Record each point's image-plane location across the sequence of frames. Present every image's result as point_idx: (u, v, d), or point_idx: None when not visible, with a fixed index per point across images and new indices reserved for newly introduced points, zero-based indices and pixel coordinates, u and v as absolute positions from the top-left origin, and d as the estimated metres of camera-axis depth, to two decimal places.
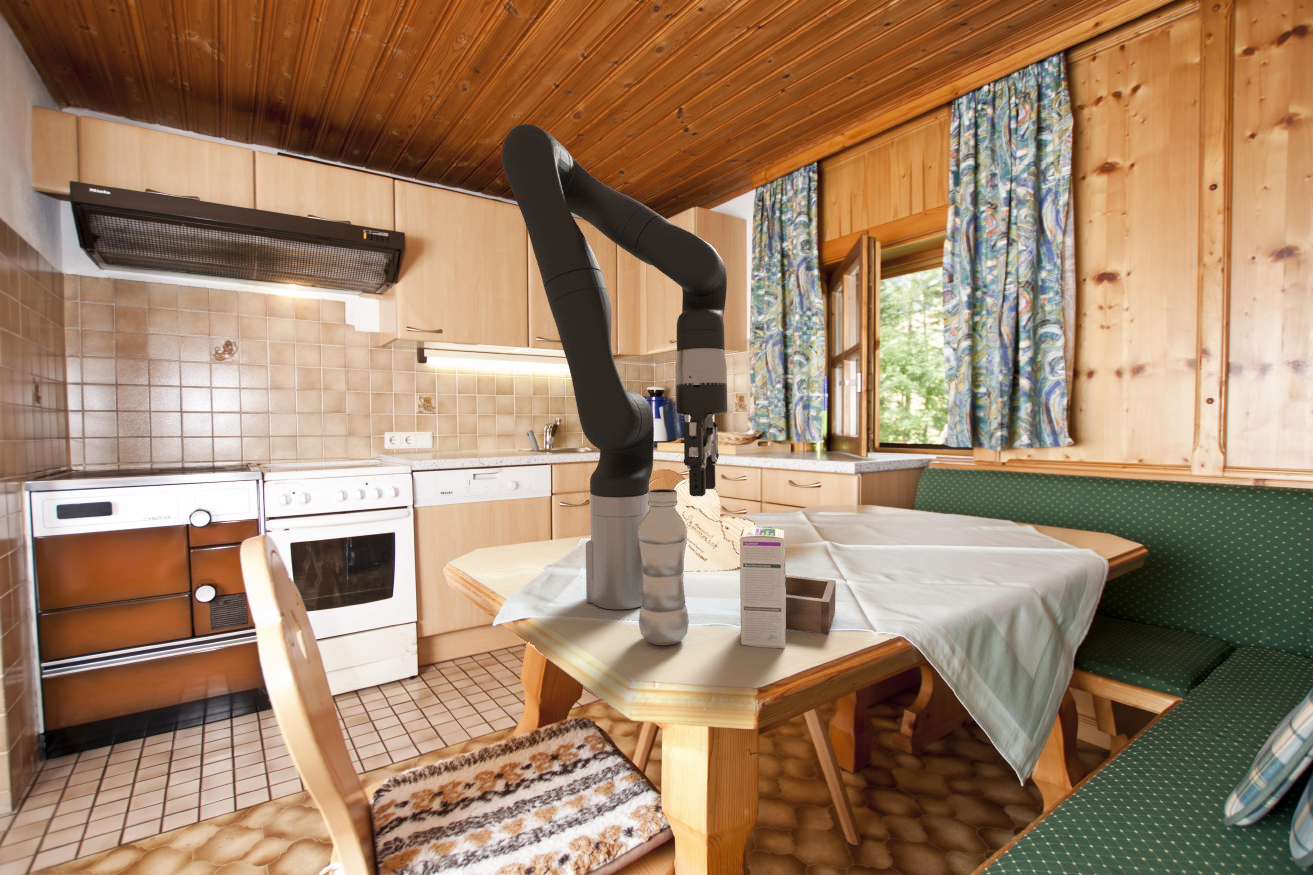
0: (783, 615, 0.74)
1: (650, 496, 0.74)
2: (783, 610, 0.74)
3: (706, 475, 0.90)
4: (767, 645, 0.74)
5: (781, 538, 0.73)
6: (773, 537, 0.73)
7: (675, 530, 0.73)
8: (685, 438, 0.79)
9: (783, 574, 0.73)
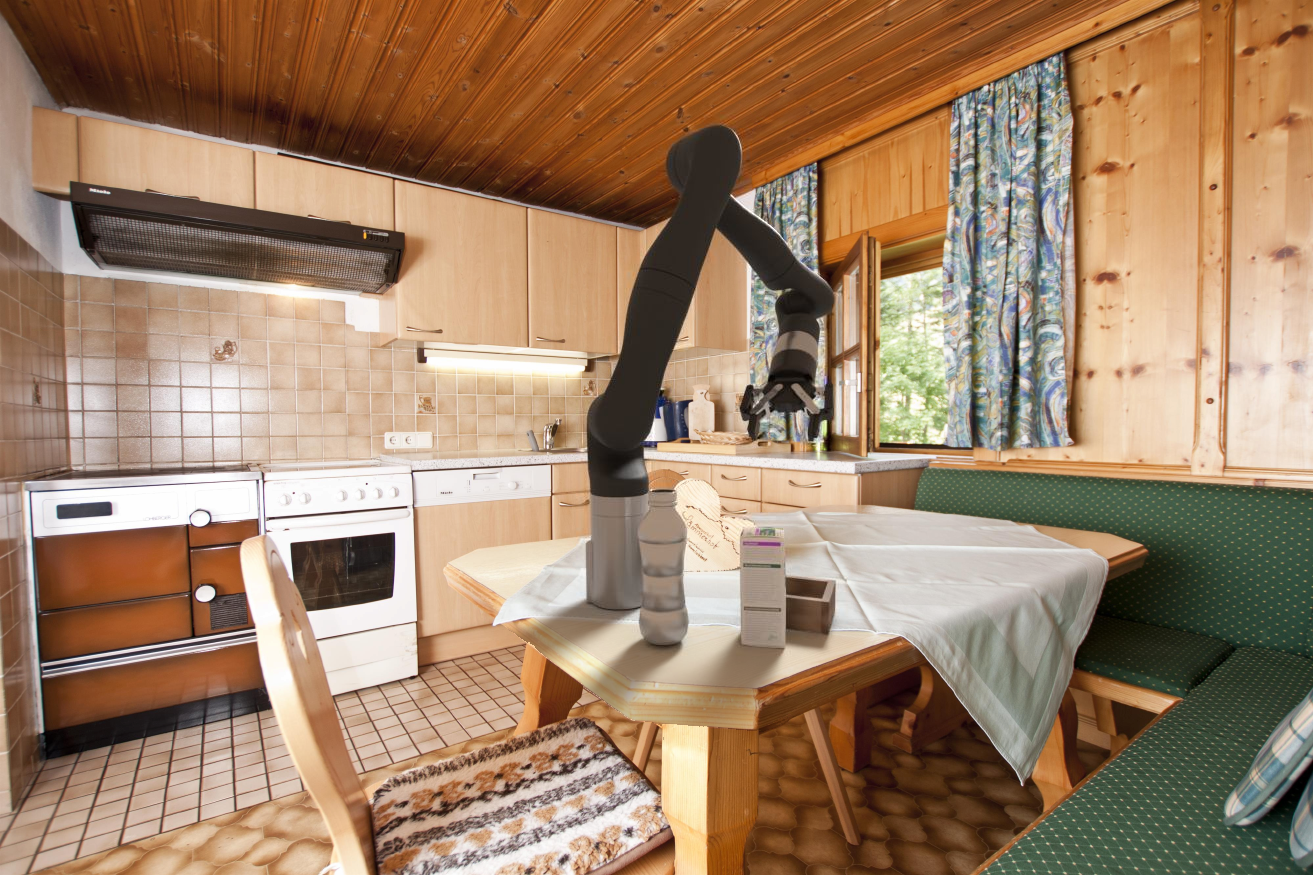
0: (783, 615, 0.74)
1: (650, 496, 0.74)
2: (783, 610, 0.74)
3: (757, 426, 0.90)
4: (767, 645, 0.74)
5: (781, 538, 0.73)
6: (773, 537, 0.73)
7: (675, 530, 0.73)
8: (833, 393, 0.89)
9: (783, 574, 0.73)
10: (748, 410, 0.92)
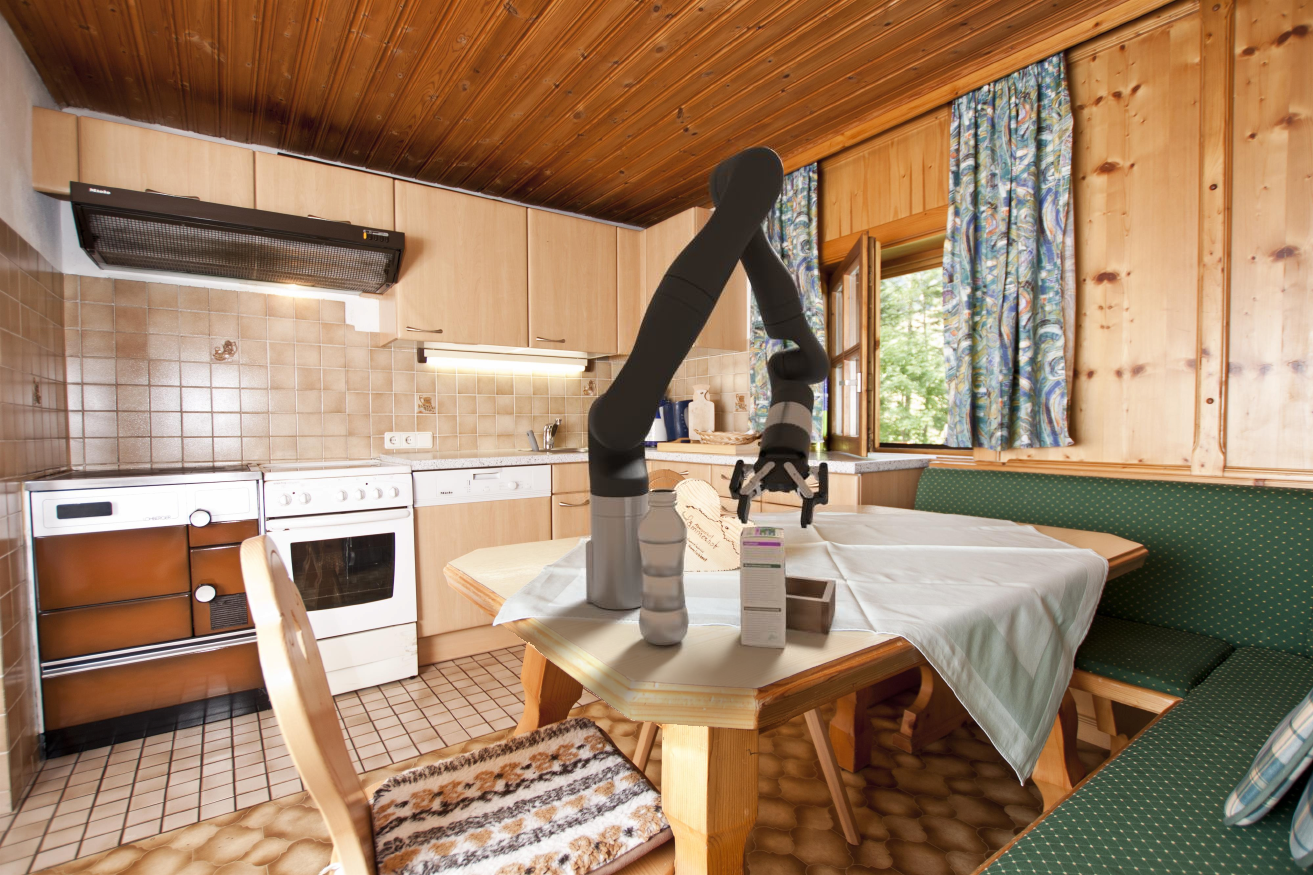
0: (783, 615, 0.74)
1: (650, 496, 0.74)
2: (783, 610, 0.74)
3: (747, 508, 0.85)
4: (767, 645, 0.74)
5: (781, 538, 0.73)
6: (773, 537, 0.73)
7: (675, 530, 0.73)
8: (827, 475, 0.84)
9: (783, 574, 0.73)
10: (738, 489, 0.87)
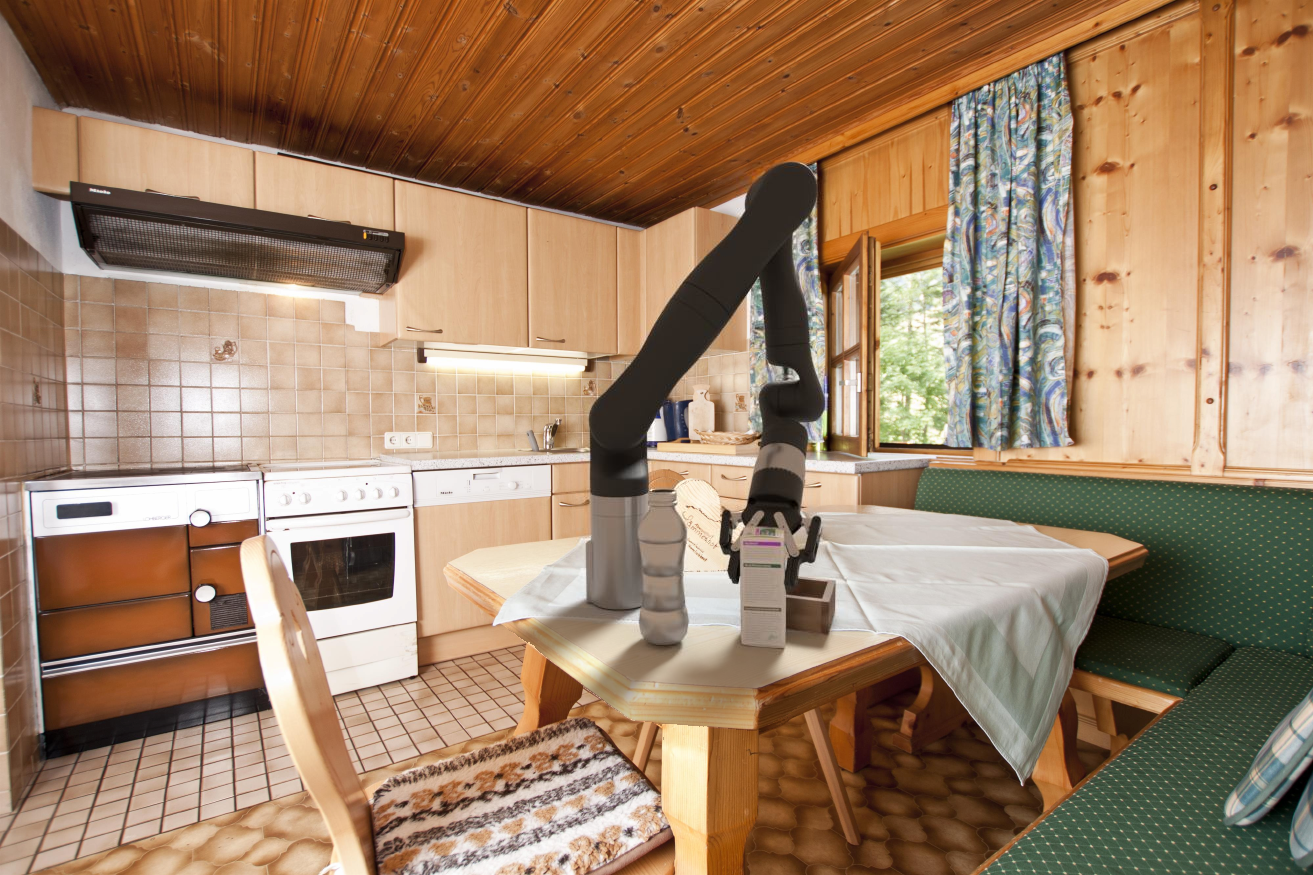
0: (783, 615, 0.74)
1: (650, 496, 0.74)
2: (783, 610, 0.74)
3: (739, 566, 0.77)
4: (767, 645, 0.74)
5: (781, 538, 0.73)
6: (773, 537, 0.73)
7: (675, 530, 0.73)
8: (818, 531, 0.77)
9: (783, 574, 0.73)
10: (729, 544, 0.79)
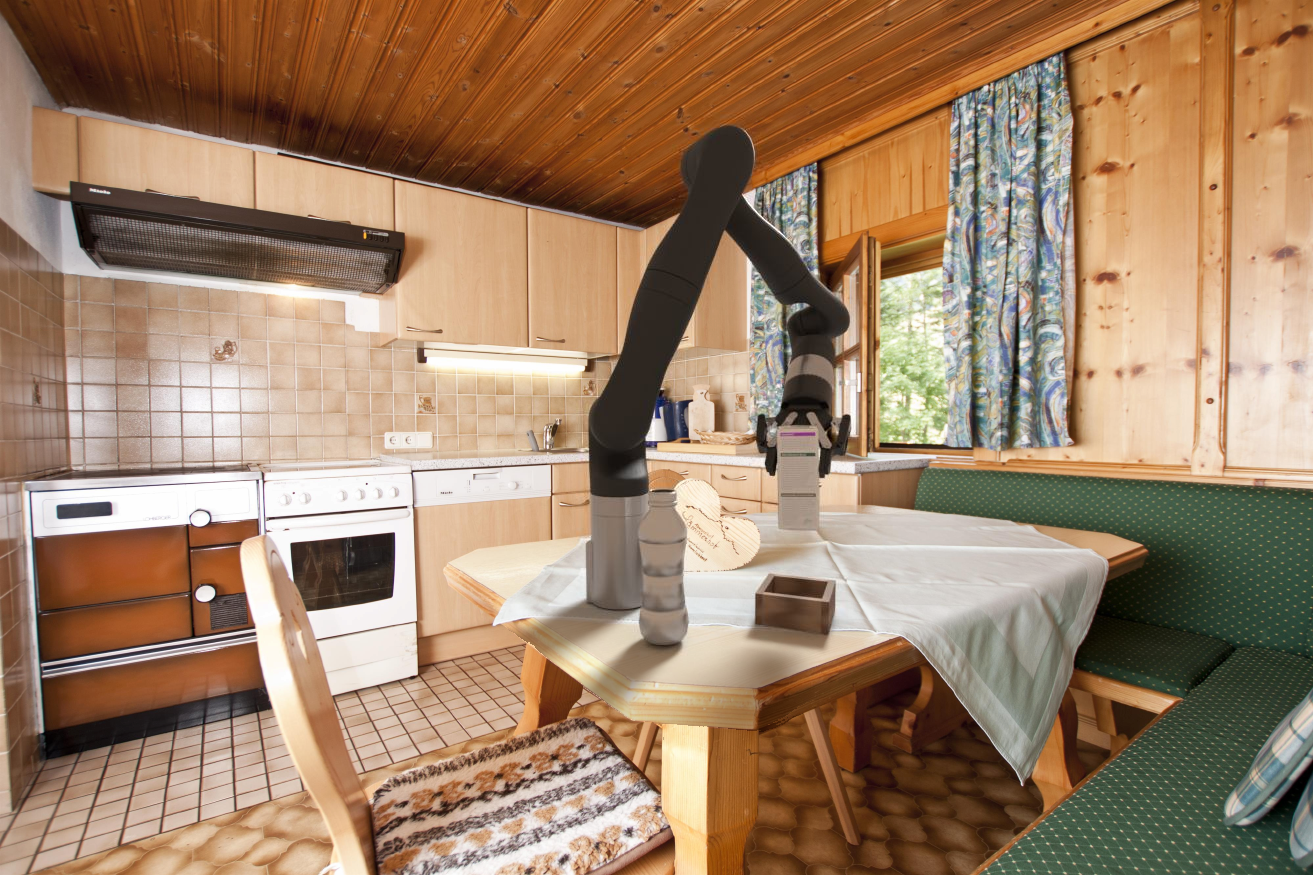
0: (817, 500, 0.80)
1: (650, 496, 0.74)
2: (817, 495, 0.80)
3: (775, 460, 0.84)
4: (803, 528, 0.81)
5: (816, 428, 0.80)
6: (808, 428, 0.80)
7: (675, 530, 0.73)
8: (848, 426, 0.83)
9: (817, 462, 0.80)
10: (765, 442, 0.86)
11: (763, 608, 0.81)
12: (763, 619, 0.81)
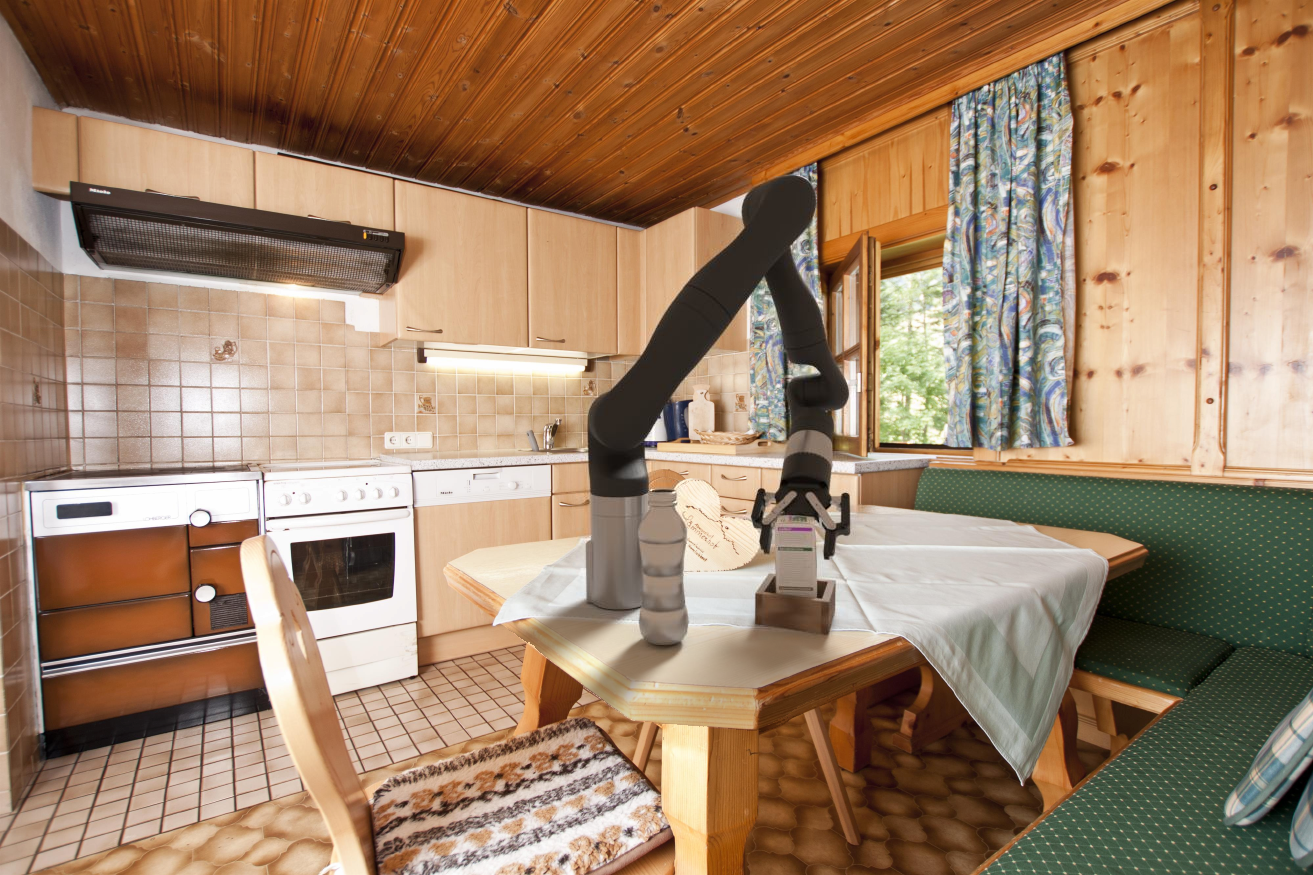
0: (815, 594, 0.81)
1: (650, 496, 0.74)
2: (815, 589, 0.81)
3: (769, 538, 0.85)
4: None
5: (812, 524, 0.81)
6: (805, 523, 0.81)
7: (675, 530, 0.73)
8: (849, 506, 0.84)
9: (814, 556, 0.81)
10: (760, 518, 0.87)
11: (763, 608, 0.81)
12: (763, 619, 0.81)
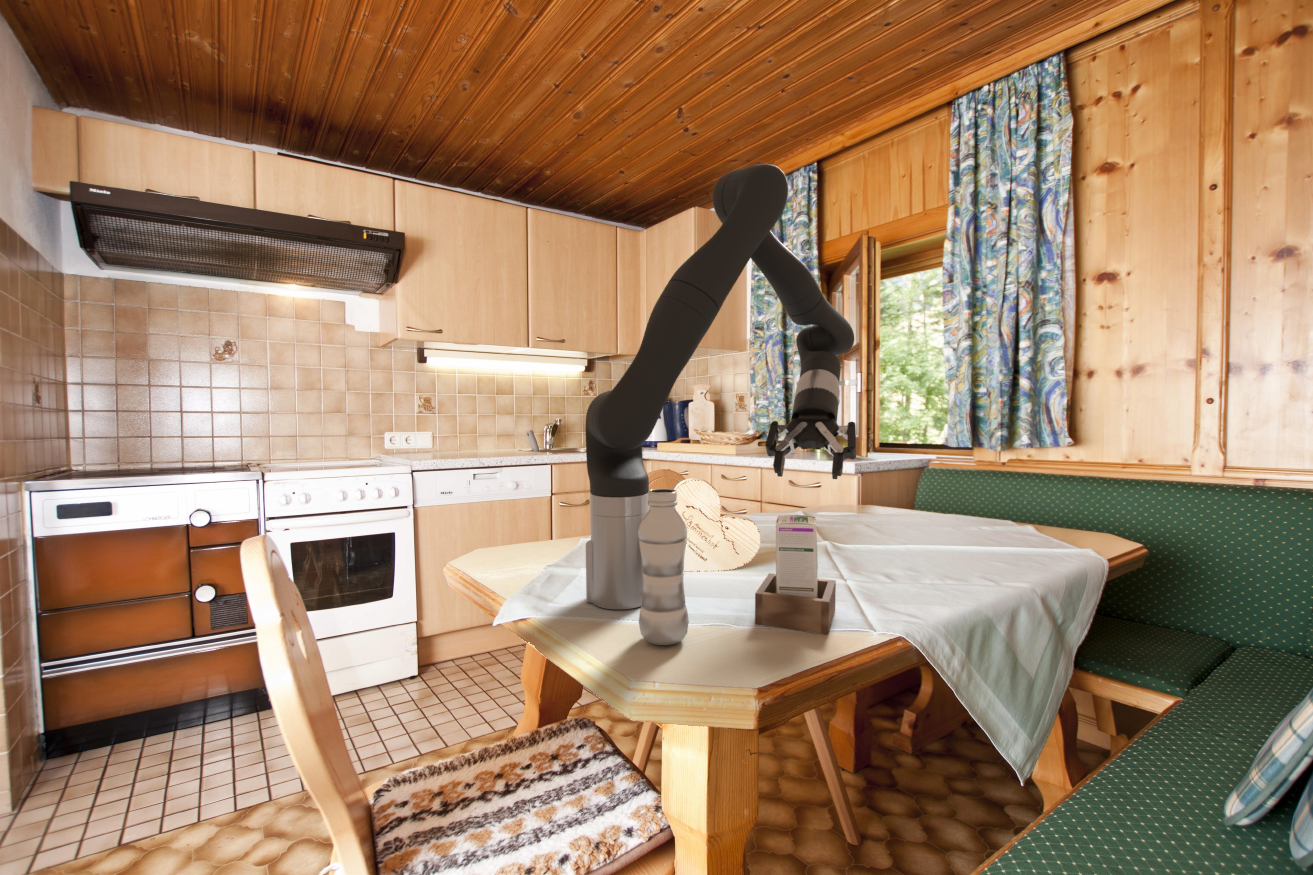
0: (815, 594, 0.81)
1: (650, 496, 0.74)
2: (815, 590, 0.81)
3: (782, 462, 0.94)
4: None
5: (814, 524, 0.81)
6: (806, 524, 0.81)
7: (675, 530, 0.73)
8: (855, 432, 0.93)
9: (815, 557, 0.81)
10: (773, 446, 0.96)
11: (763, 608, 0.81)
12: (763, 619, 0.81)
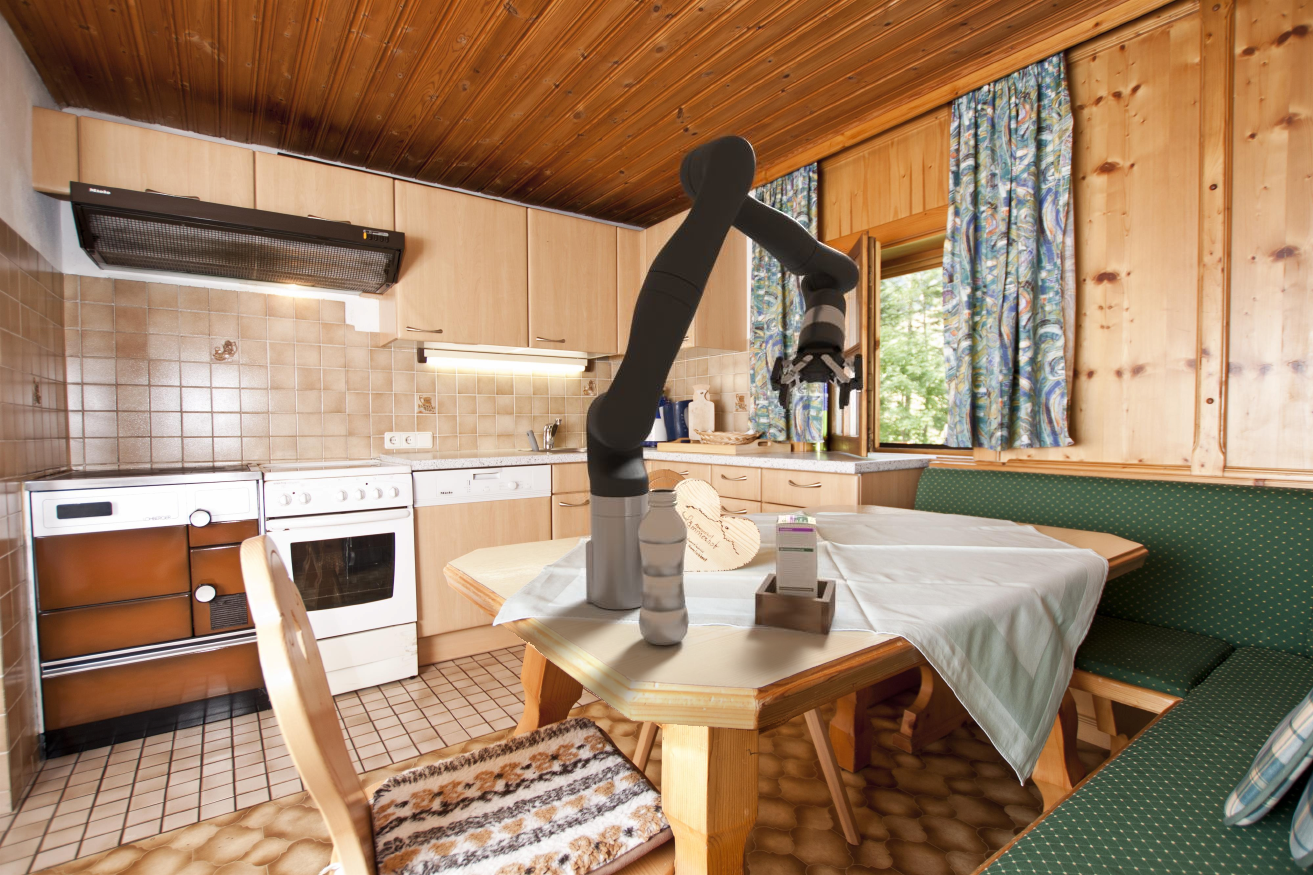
0: (815, 594, 0.81)
1: (650, 496, 0.74)
2: (815, 590, 0.81)
3: (788, 395, 0.92)
4: None
5: (814, 524, 0.81)
6: (806, 524, 0.81)
7: (675, 530, 0.73)
8: None
9: (815, 557, 0.81)
10: (778, 380, 0.94)
11: (763, 608, 0.81)
12: (763, 619, 0.81)
